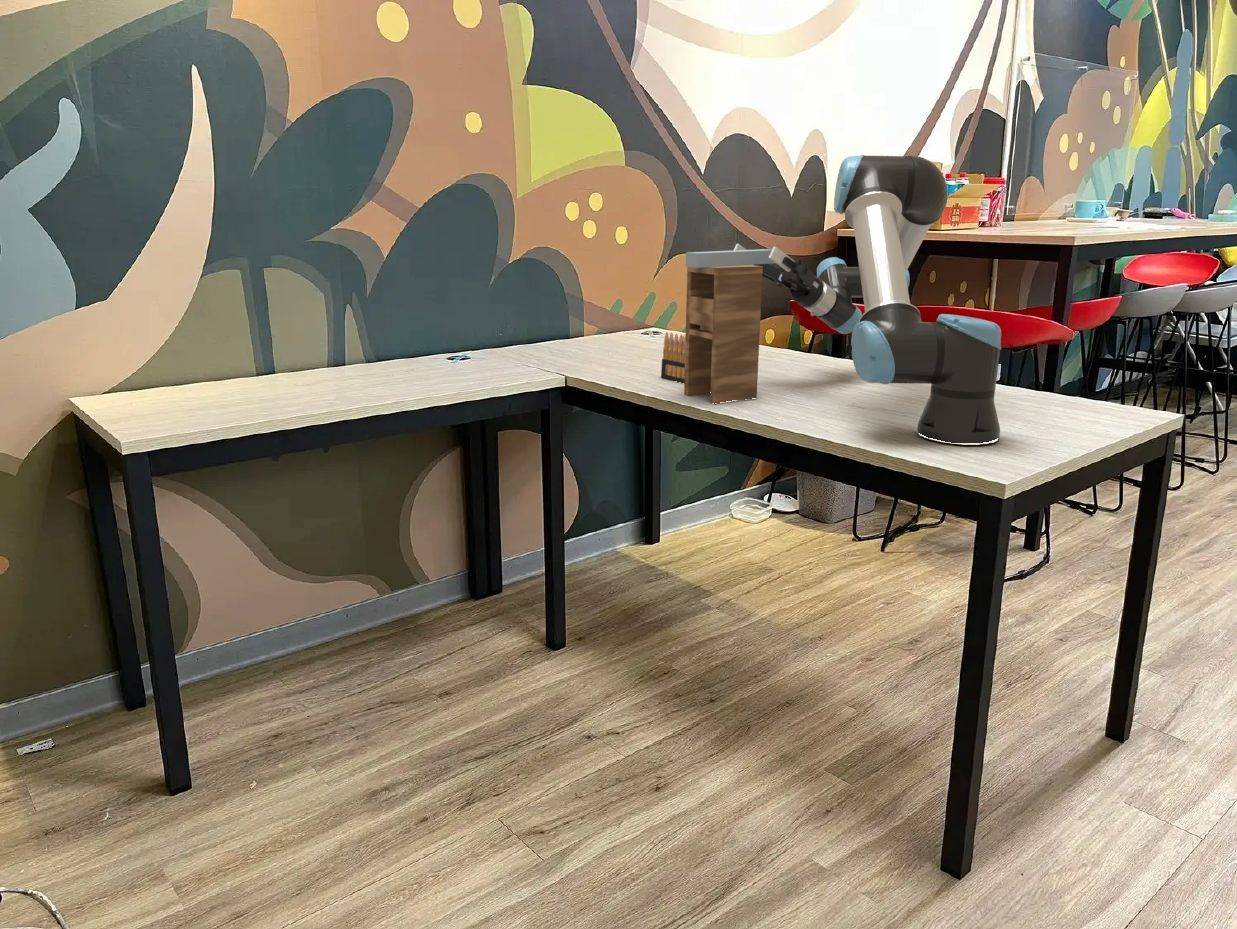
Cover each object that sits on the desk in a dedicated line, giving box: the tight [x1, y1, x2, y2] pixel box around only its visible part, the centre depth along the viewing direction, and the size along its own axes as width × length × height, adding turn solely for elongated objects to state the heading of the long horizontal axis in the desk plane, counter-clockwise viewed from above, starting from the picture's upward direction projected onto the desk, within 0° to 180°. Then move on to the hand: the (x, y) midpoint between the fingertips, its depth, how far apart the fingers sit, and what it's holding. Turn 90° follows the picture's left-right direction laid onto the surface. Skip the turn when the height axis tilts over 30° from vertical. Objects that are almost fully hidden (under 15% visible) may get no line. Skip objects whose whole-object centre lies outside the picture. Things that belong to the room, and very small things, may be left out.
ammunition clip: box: [660, 331, 686, 384], centre depth 233 cm, size 11×2×12 cm, turn 39°
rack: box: [683, 265, 763, 405], centre depth 212 cm, size 12×12×32 cm
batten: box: [685, 248, 776, 268], centre depth 210 cm, size 4×24×3 cm, turn 127°
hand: (752, 250), depth 211 cm, fingers open, 13 cm apart
